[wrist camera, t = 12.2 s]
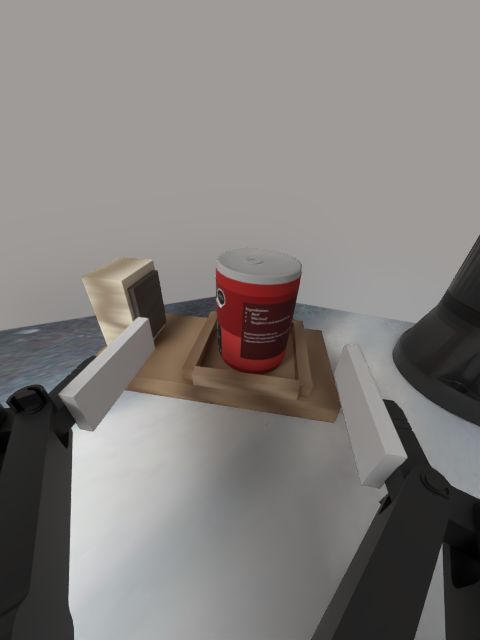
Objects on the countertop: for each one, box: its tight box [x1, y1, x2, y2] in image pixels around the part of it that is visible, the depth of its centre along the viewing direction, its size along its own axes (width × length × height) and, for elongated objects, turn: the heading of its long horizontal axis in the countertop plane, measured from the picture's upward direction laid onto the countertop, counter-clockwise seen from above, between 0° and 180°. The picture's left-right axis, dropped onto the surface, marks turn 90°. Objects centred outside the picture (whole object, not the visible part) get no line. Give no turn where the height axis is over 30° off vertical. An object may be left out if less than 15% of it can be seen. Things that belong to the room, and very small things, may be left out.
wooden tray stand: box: [82, 257, 341, 423], centre depth 25 cm, size 26×12×12 cm, turn 81°
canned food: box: [216, 248, 302, 374], centre depth 23 cm, size 8×8×11 cm
